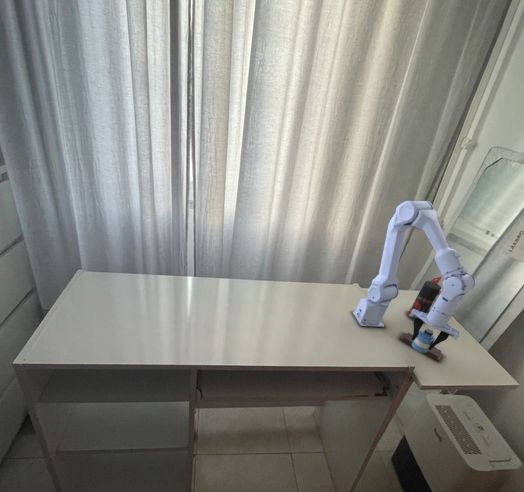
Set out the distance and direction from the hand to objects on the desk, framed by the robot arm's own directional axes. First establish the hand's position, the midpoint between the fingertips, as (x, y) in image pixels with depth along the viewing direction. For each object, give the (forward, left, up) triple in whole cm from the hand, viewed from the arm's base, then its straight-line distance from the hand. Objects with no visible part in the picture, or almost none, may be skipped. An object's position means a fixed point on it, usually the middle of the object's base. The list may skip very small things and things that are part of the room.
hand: (421, 343), depth 102 cm
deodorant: (+14, +23, -6) cm, 27 cm away
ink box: (+22, +29, -6) cm, 37 cm away
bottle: (0, 0, -2) cm, 2 cm away
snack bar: (+5, +5, -6) cm, 9 cm away
